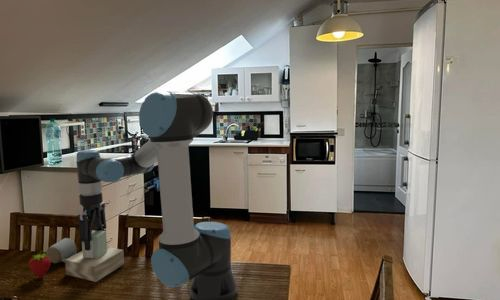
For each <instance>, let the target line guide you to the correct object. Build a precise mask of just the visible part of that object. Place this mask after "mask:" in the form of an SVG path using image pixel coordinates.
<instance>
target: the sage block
mask: <svg viewBox="0 0 500 300" xmlns="http://www.w3.org/2000/svg"><path fill="white" fill-rule="evenodd" d="M91 240H93V251H94V258H100V257H101V256H102V255H103V254H104V253H106V252H107V247H108V243H107V230H106V231H96V229H95V230H93V229H92V236H91ZM81 247H82V249H81V250H82V251H83V258H86V255H85V245H84V242H81Z"/></svg>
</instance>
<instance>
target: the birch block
mask: <svg viewBox="0 0 500 300" xmlns="http://www.w3.org/2000/svg"><path fill="white" fill-rule="evenodd" d="M124 251H125V250H124V249H120V248H115V247H111V246H107V252H106V253H104V254H103V255H102V256H101V257H100V258H83V251H80V252H78V253H77V252H76V253H77V254H75V255H73V256H71V257H69V258H67V259H66V260H65V263H64V265H65V275H67V276H69V277H70V276H71V277H75V278H79V279H82V280H87V281H91V282H95V283H96V282H99V281H100V280H101V279H103V278H104V277H106V276H107V275H109V274H111V273H113V272H114V271H115V270H117V269H118V268H121V267H122V266H123V265H125V254H124V253H125V252H124Z"/></svg>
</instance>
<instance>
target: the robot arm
mask: <svg viewBox="0 0 500 300" xmlns="http://www.w3.org/2000/svg"><path fill="white" fill-rule="evenodd" d="M143 100H144V101H143V102H142V103H141V106H140V109H139V113H138V121H139V126H140V128H141V129H142V132H143V134H145V135H146V136H148V137H149V139H148V141H146V142H145V143H144V144H143V145H141V147H139V148H138V149H137V150H136V151H134V152H133V153H131V154H125V155H120V156H114V157H107V158H103V157H101V155H100V151H99V150H97V149H86V150H85V149H84V150H80V151H77V152H76V162H75V163H76V170H77V171H76V172H77V182H78V183H77V184H78V193H79V195H78V197H79V205H80V206H82V207H83V208H82V213H80V214H78V215H77V220H78V231H79V237H78V238H79V242H80V243H82V242H84V245H85V255H86V258H94V251H93V240H91V236H92V230H93V226H94V229H95V231H106V232H107V230H106V229H107V219H106V211H105V209H106V204H105V203H103V199H104V198H103V193H102V191H103V187H102V186H103V184H102V182H104V183H116V182H118V181H119V180H121V179H122V178H126V177H132V176H136V175H143V174H146V173H148V172H150V171H152V170H153V168H154V166H155V164H156V163H157V167H158V178H159V179H158V180H159V192H160V193H159V194H160V205H161V216H162V217H161V218H162V219H161V220H162V233H161V234H160V235H159V236H158V248H157V249H155V250H154V251H153V253H152V254H151V258H150V263H151V267H152V270H153V273H154V274H155V276H156V277H157V278H158V280H159V281H160V282H161V283H162V284H163V285H165V287H169V288H178V287H181V286H182V285H185V284H187V283H188V282H189V281H191V282H190V286H189V295H190V298H191V299H192V300H232V299H234V297H235V296H236V294H237V282H236V279H235V276H234V273H233V271H232V258H231V257H232V245H231V244H232V236H231V235H232V233H231V228H230V227H229V226H228V225H227V224H225V223H222V222H218V221H201V222H198V223H196V224H195V223H194V211H193V209H194V208H193V196H192V183H191V182H192V181H191V166H190V165H191V164H190V152H189V146H190V144H191V143H192V142H193V141H194V138H196V137H197V136H199V135H201V134H202V133H203V132H204V131H206V130H207V129H208V127H209V126H210V125H211V124H212V121H213V117H214V109H213V107H212V103H211V102H210V101H209V99H208V98H207V97H205V96H204V95H203V94H201V93H197V92H195V91H190V92H185V91H182V92H181V91H158V92H157V91H156V92H153V93H150V94H149V95H147V96H146V97H145V98H144V99H143Z"/></svg>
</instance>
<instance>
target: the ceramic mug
mask: <svg viewBox="0 0 500 300" xmlns="http://www.w3.org/2000/svg"><path fill="white" fill-rule="evenodd" d="M46 253H48V254H46V255H47V257H48V258H50V260H51V263H52V264H54V265H55V264H60V263H62V262H63V263H64V264H65V260H66V259H67V258H69V257H71V256H73V255H75V254H77V246H76V243H75V242H74V241H73V240H72V239H71V238H70V237H69V238H68V237H64V238H63V239H61V240H59V241H57V242H56V243H54V244H52V245H50V246H49V247H48V248H47V250H46Z"/></svg>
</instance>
